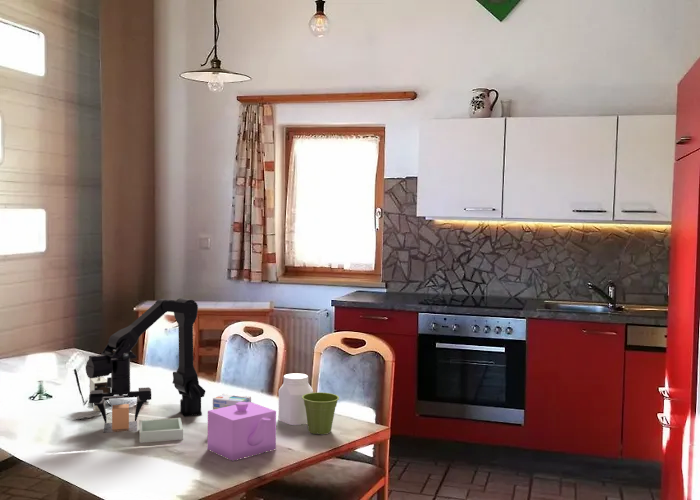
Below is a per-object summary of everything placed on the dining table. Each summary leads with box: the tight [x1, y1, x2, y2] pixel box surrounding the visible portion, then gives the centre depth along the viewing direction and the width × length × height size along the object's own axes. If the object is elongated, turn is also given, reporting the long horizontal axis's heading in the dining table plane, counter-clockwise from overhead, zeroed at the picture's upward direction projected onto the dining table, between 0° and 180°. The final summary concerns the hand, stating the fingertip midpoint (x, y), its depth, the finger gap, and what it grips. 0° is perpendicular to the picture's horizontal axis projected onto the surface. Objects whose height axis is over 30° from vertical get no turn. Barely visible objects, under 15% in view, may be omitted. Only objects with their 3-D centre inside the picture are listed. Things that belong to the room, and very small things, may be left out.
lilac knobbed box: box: [206, 401, 277, 462], centre depth 209 cm, size 15×25×14 cm, turn 43°
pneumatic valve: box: [89, 376, 111, 413], centre depth 246 cm, size 6×12×12 cm, turn 30°
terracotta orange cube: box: [111, 403, 130, 430], centre depth 227 cm, size 5×5×6 cm
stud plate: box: [102, 420, 138, 434], centre depth 227 cm, size 10×10×6 cm
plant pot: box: [302, 391, 340, 435], centre depth 228 cm, size 12×12×11 cm
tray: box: [138, 417, 184, 443], centre depth 220 cm, size 13×13×4 cm
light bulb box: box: [212, 393, 252, 410], centre depth 228 cm, size 11×7×11 cm, turn 71°
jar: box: [277, 372, 314, 426], centre depth 240 cm, size 12×10×15 cm
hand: (120, 421), depth 227 cm, fingers open, 9 cm apart
